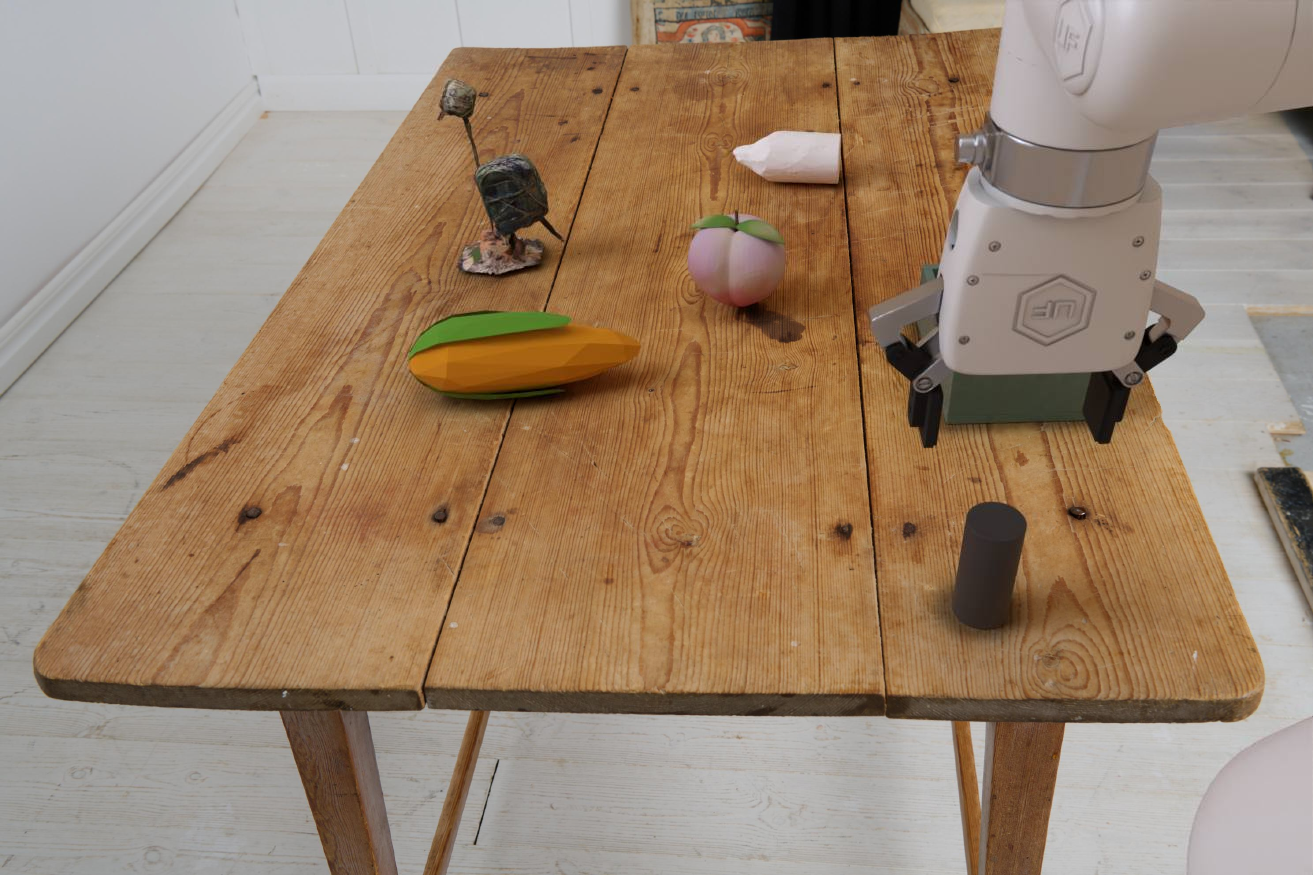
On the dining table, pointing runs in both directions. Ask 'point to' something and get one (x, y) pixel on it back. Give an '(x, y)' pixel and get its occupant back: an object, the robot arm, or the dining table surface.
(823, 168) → the white pointed cylinder
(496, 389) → the corn
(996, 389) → the bin
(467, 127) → the long necked figurine
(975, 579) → the dark grey cylinder
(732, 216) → the decorative fruit
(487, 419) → the dining table surface
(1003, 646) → the dining table surface
